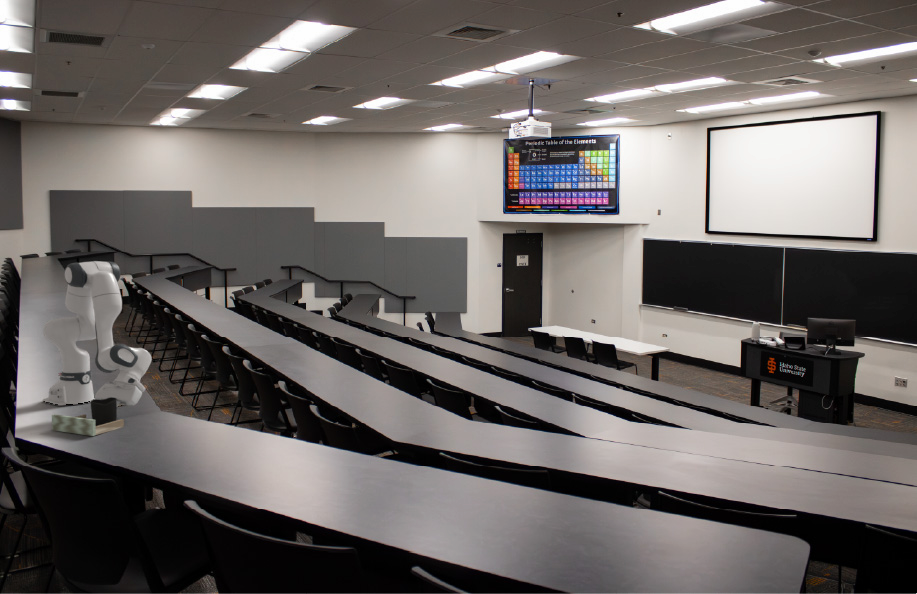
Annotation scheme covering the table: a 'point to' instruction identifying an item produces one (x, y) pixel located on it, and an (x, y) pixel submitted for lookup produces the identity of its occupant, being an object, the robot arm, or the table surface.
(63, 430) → the corral
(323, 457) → the table surface
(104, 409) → the pen holder
